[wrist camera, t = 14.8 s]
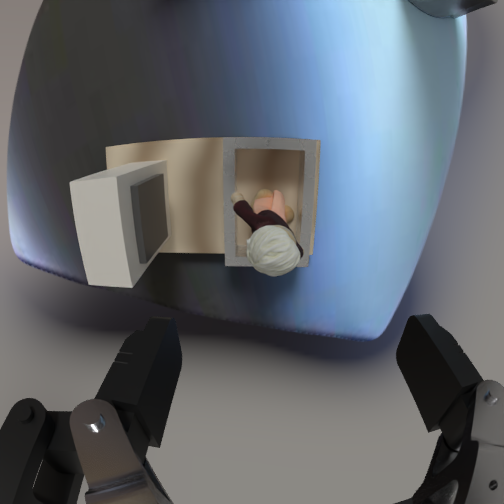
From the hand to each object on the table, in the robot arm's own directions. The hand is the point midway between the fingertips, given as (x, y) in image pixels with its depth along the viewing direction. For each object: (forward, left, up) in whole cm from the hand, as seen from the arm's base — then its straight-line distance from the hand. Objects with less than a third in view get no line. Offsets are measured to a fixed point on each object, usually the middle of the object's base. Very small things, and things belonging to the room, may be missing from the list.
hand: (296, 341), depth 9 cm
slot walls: (0, 0, -20) cm, 20 cm away
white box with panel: (+12, 0, -20) cm, 24 cm away
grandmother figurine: (0, +1, -21) cm, 21 cm away
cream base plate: (+6, 0, -22) cm, 23 cm away
